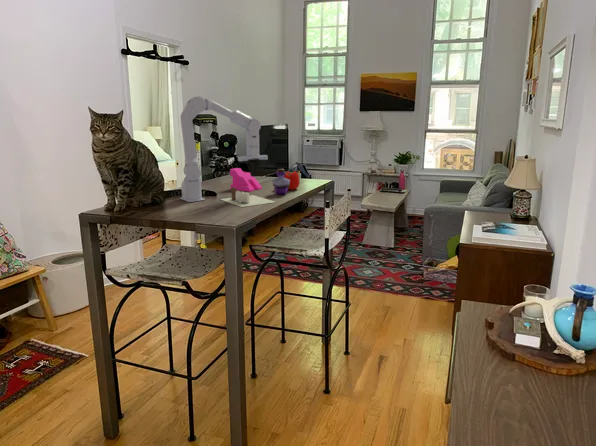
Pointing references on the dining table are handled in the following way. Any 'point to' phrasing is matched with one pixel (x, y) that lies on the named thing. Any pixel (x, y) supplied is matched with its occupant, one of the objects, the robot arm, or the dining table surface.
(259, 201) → the card
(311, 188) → the dining table surface
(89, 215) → the dining table surface
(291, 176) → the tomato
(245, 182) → the bracket
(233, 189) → the fence post
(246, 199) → the fence panel
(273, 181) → the potion bottle
